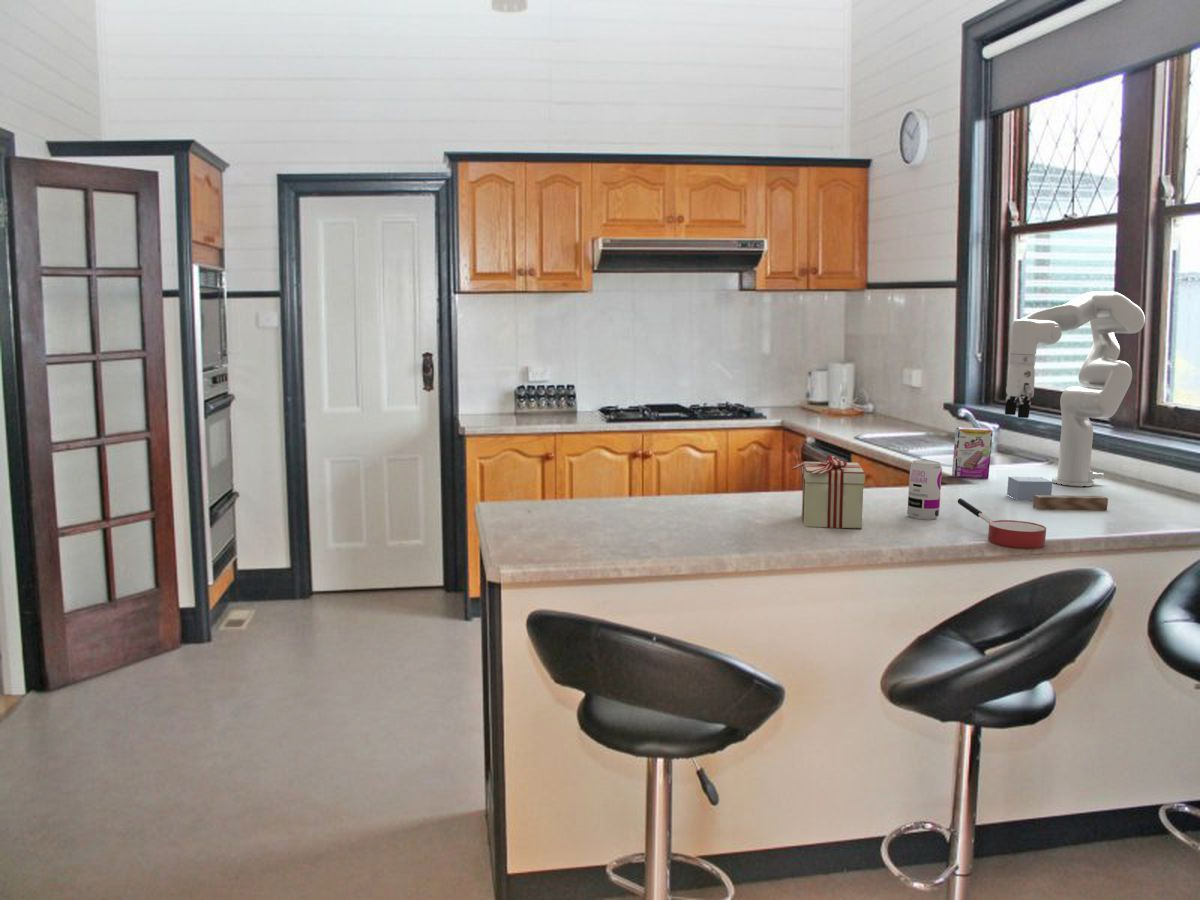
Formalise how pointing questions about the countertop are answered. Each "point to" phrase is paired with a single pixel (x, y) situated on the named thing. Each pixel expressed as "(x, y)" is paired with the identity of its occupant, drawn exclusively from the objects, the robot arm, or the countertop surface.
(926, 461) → the supplement can
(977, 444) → the candy bar box
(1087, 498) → the board
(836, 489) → the gift box
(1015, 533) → the frying pan
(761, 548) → the countertop surface
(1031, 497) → the block
